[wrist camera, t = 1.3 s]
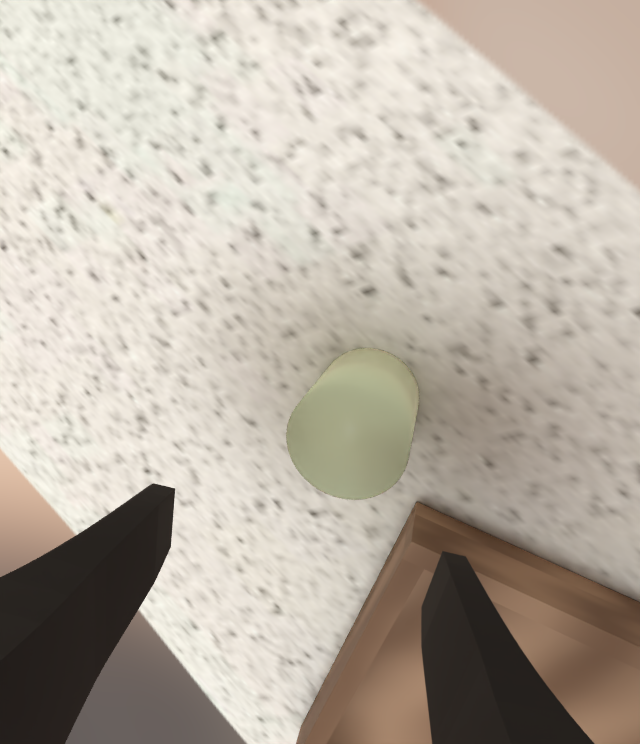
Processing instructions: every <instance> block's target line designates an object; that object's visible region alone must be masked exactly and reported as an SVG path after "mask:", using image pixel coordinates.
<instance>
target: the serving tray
mask: <svg viewBox="0 0 640 744" xmlns="http://www.w3.org/2000/svg"><path fill="white" fill-rule="evenodd" d="M442 551H445V552H449V553H454V554H458V555H462V556H466V558H467V559H468V561H469V563H470V564H471V566H472V568H473V569H474V571H475V573H476V575H477V577H478V578H479V580H480V582H481V584H482V585H483V587H484V589H485V591H486V592H487V594H488V596H489V598H490V599H491V601H492V603H493V604H494V606H495V608H496V609H497V611H498V613H499V614H500V616H501V618H502V619H503V621H504V622H505V624H506V626H507V627H508V629H509V631H510V632H511V634H512V635H513V637H514V639H515V640H516V642H517V643H518V645H519V646H520V648H521V649H522V651H523V652H524V654H525V655H526V657H527V658H528V659H529V661H530V662H531V664H532V665H533V667H534V668H535V670H536V671H537V672H538V674H539V675H540V677H541V678H542V679H543V681H544V682H545V683H546V685H547V686H548V687H549V689H550V690H551V691H552V692H553V694H554V695H555V696H556V698H557V699H558V700H559V701H560V703H561V704H562V705H563V706H564V708H565V709H566V710H567V712H568V713H569V714H570V715H571V717H572V718H573V719H574V720H575V721H576V723H577V724H578V725H579V726H580V727H581V729H582V730H583V731H584V732H585V733H586V734H587V735H588V737H589V738H590V739H591V740H592V741H593V742H594V743H595V744H640V602H638V601H635V600H633V599H631V598H629V597H627V596H624V595H622V594H620V593H618V592H615V591H613V590H611V589H609V588H607V587H604V586H602V585H600V584H598V583H596V582H593V581H591V580H589V579H587V578H584V577H582V576H580V575H578V574H576V573H573V572H571V571H569V570H567V569H565V568H562V567H560V566H558V565H556V564H553V563H551V562H549V561H547V560H545V559H542V558H540V557H538V556H536V555H534V554H531V553H529V552H527V551H525V550H522V549H520V548H518V547H516V546H514V545H511V544H509V543H507V542H505V541H503V540H500V539H498V538H496V537H494V536H491V535H489V534H487V533H485V532H483V531H480V530H478V529H476V528H474V527H472V526H469V525H467V524H465V523H463V522H460V521H458V520H456V519H454V518H452V517H449V516H447V515H445V514H443V513H441V512H438V511H436V510H434V509H432V508H429V507H427V506H425V505H423V504H421V503H418V502H416V504H415V506H414V508H413V510H412V512H411V514H410V516H409V518H408V519H407V521H406V523H405V525H404V527H403V529H402V531H401V533H400V535H399V537H398V539H397V541H396V543H395V545H394V547H393V549H392V551H391V553H390V555H389V556H388V558H387V560H386V562H385V564H384V566H383V568H382V570H381V572H380V574H379V576H378V578H377V580H376V582H375V584H374V586H373V588H372V590H371V591H370V593H369V595H368V597H367V599H366V601H365V603H364V605H363V607H362V609H361V611H360V613H359V615H358V617H357V619H356V621H355V623H354V625H353V627H352V628H351V630H350V632H349V634H348V636H347V638H346V640H345V642H344V644H343V646H342V648H341V650H340V652H339V654H338V656H337V658H336V660H335V662H334V664H333V665H332V667H331V669H330V671H329V673H328V675H327V677H326V679H325V681H324V683H323V685H322V687H321V689H320V691H319V693H318V695H317V697H316V699H315V701H314V702H313V704H312V706H311V708H310V710H309V712H308V714H307V716H306V718H305V720H304V722H303V724H302V726H301V729H300V732H299V735H298V739H297V742H296V744H432V738H431V729H430V720H429V712H428V703H427V694H426V686H425V677H424V668H423V658H422V649H421V607H422V604H423V601H424V599H425V596H426V593H427V591H428V588H429V585H430V583H431V580H432V577H433V575H434V572H435V569H436V567H437V564H438V561H439V559H440V556H441V553H442Z"/></svg>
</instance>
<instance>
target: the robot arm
mask: <svg viewBox="0 0 640 744" xmlns="http://www.w3.org/2000/svg"><path fill="white" fill-rule="evenodd" d="M174 496H175V488H171V487H166V486H162V485H158V484H151V485H150V486H148V487H147V488H145V489H144V490H142V491H141V492H140V493H138V494H137V495H135V496H134V497H132V498H131V499H130V500H128V501H127V502H125V503H124V504H123V505H121V506H120V507H118V508H117V509H115V510H114V511H113V512H111V513H110V514H108V515H107V516H105V517H104V518H102V519H101V520H99V521H98V522H96V523H95V524H93V525H92V526H90V527H89V528H87V529H86V530H84V531H83V532H81V533H79V534H78V535H76V536H75V537H73V538H71V539H70V540H68V541H66V542H65V543H63V544H61V545H60V546H58V547H56V548H55V549H53V550H51V551H50V552H48V553H46V554H44V555H43V556H41V557H39V558H37V559H36V560H33V561H32V562H30V563H28V564H26V565H24V566H22V567H20V568H19V569H16V570H14V571H12V572H10V573H8V574H6V575H4V576H2V577H0V744H65V742H66V740H67V738H68V736H69V734H70V732H71V730H72V727H73V725H74V723H75V721H76V719H77V717H78V715H79V713H80V711H81V709H82V707H83V705H84V703H85V701H86V699H87V697H88V695H89V693H90V691H91V689H92V687H93V685H94V683H95V681H96V679H97V677H98V676H99V674H100V672H101V670H102V668H103V667H104V665H105V663H106V661H107V660H108V658H109V656H110V655H111V653H112V652H113V650H114V648H115V646H116V645H117V643H118V642H119V640H120V638H121V636H122V635H123V634H124V632H125V630H126V629H127V627H128V625H129V624H130V622H131V620H132V619H133V617H134V616H135V614H136V612H137V611H138V609H139V607H140V606H141V604H142V602H143V601H144V599H145V597H146V596H147V594H148V592H149V591H150V589H151V587H152V586H153V584H154V582H155V580H156V578H157V576H158V574H159V572H160V569H161V567H162V565H163V563H164V561H165V558H166V556H167V554H168V552H169V550H170V547H171V536H172V523H173V509H174ZM421 649H422V658H423V668H424V677H425V686H426V694H427V703H428V712H429V720H430V729H431V738H432V744H595V743H594V742H593V741H592V740H591V739H590V738H589V737H588V735H587V734H586V733H585V732H584V731H583V730H582V729H581V727H580V726H579V725H578V724H577V723H576V721H575V720H574V719H573V718H572V717H571V715H570V714H569V713H568V712H567V710H566V709H565V708H564V706H563V705H562V704H561V703H560V701H559V700H558V699H557V698H556V696H555V695H554V694H553V692H552V691H551V690H550V689H549V687H548V686H547V685H546V683H545V682H544V681H543V679H542V678H541V677H540V675H539V674H538V672H537V671H536V670H535V668H534V667H533V665H532V664H531V662H530V661H529V659H528V658H527V657H526V655H525V654H524V652H523V651H522V649H521V648H520V646H519V645H518V643H517V642H516V640H515V639H514V637H513V635H512V634H511V632H510V631H509V629H508V627H507V626H506V624H505V622H504V621H503V619H502V618H501V616H500V614H499V613H498V611H497V609H496V608H495V606H494V604H493V603H492V601H491V599H490V598H489V596H488V594H487V592H486V591H485V589H484V587H483V585H482V584H481V582H480V580H479V578H478V577H477V575H476V573H475V571H474V569H473V568H472V566H471V564H470V563H469V561H468V559H467V558H466V556H462V555H458V554H454V553H449V552H445V551H442V553H441V556H440V559H439V561H438V564H437V567H436V569H435V572H434V575H433V577H432V580H431V583H430V585H429V588H428V591H427V593H426V596H425V599H424V601H423V604H422V607H421Z"/></svg>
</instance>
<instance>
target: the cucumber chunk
mask: <svg viewBox="0 0 640 744" xmlns="http://www.w3.org/2000/svg"><path fill="white" fill-rule="evenodd" d="M418 406H419V390H418V385H417V382H416V380H415V378H414V376H413V374H412V372H411V371H410V369H409V368H408V367H407V366H406V365H405V364H404V363H403V362H402V361H401V360H400V359H398V358H397V357H395V356H394V355H392V354H390V353H388V352H385V351H382V350H379V349H373V348H361V349H355V350H352V351H349V352H346V353H344V354H342V355H341V356H339V357H338V358H337V359H336V360H334V361H333V362H332V364H331V365H330V366H329V367H328V368H327V370H326V371H325V372H324V373H323V374H322V376H321V377H320V378H319V379H318V380H317V382H316V383H315V384H314V385H313V387H312V388H311V389H310V390H309V391H308V393H307V394H306V395H305V396H304V398H303V399H302V400H301V401H300V402H299V404H298V405H297V406H296V407H295V409H294V411H293V412H292V414H291V416H290V419H289V422H288V426H287V433H286V440H287V447H288V451H289V454H290V457H291V459H292V462H293V463H294V465H295V467H296V469H297V470H298V471H299V473H300V474H301V475H302V476H303V477H304V478H305V479H306V480H307V481H308V482H309V483H310V484H311V485H313V486H314V487H316V488H317V489H319V490H320V491H322V492H324V493H326V494H329V495H331V496H334V497H338V498H342V499H351V500H359V499H367V498H371V497H374V496H377V495H379V494H381V493H383V492H385V491H387V490H388V489H390V488H391V487H392V486H393V485H394V484H395V483H396V482H397V481H398V480H399V479H400V477H401V476H402V474H403V472H404V471H405V468H406V466H407V462H408V458H409V453H410V448H411V443H412V437H413V432H414V427H415V422H416V417H417V411H418Z"/></svg>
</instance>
